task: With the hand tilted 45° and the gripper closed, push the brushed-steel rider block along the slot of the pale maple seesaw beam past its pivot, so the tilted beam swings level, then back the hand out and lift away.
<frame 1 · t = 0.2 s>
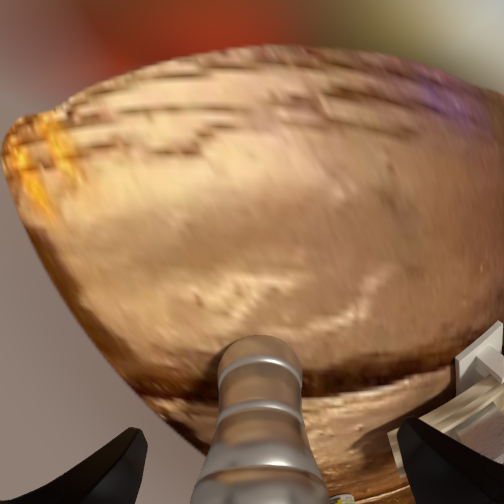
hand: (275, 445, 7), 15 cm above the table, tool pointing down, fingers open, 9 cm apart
balance beam: (493, 390, 20), point 4 cm above the table, hinge at -6.3°, touching steel rider
steel rider: (470, 419, 19), point 5 cm above the table, tilted 6°, touching balance beam
supplement bottle: (336, 498, 29), on the table
beam stand: (477, 374, 24), on the table
silver metal bottle: (259, 356, 23), on the table
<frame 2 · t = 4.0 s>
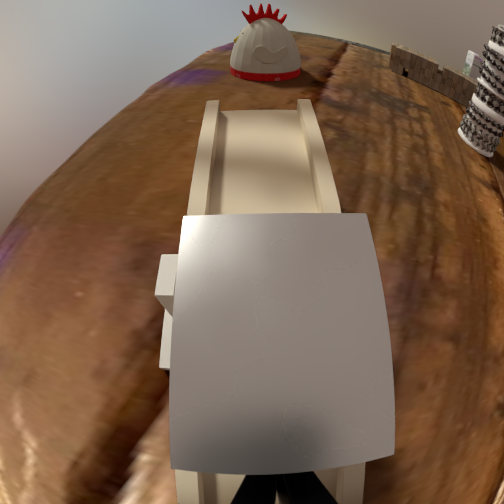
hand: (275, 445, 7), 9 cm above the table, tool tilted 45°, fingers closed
kitchen timer: (265, 71, 46), on the table
syrup box: (467, 91, 54), on the table
balance beam: (265, 294, 16), point 4 cm above the table, hinge at -6.3°, touching steel rider
steel rider: (269, 363, 12), point 6 cm above the table, tilted 6°, touching balance beam
beam stand: (264, 317, 19), on the table
white patterned cylinder: (475, 142, 34), on the table
block tower: (436, 89, 49), on the table
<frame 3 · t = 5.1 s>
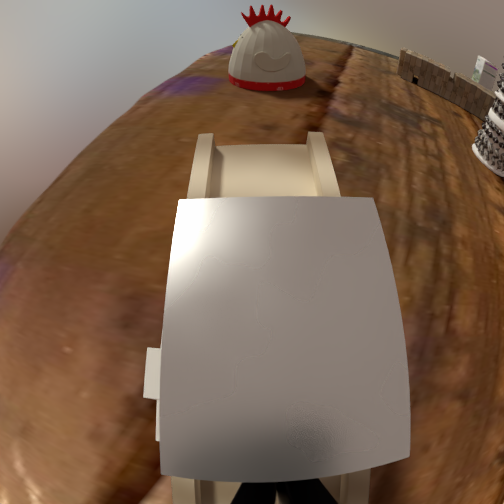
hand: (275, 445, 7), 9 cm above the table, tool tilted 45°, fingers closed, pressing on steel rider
kitchen timer: (267, 78, 43), on the table
syrup box: (476, 98, 51), on the table
balance beam: (268, 383, 13), point 4 cm above the table, hinge at -5.2°, touching steel rider
steel rider: (270, 364, 12), point 6 cm above the table, tilted 5°, touching balance beam, gripper
beam stand: (266, 389, 16), on the table
white patterned cylinder: (489, 160, 32), on the table
block tower: (447, 97, 46), on the table
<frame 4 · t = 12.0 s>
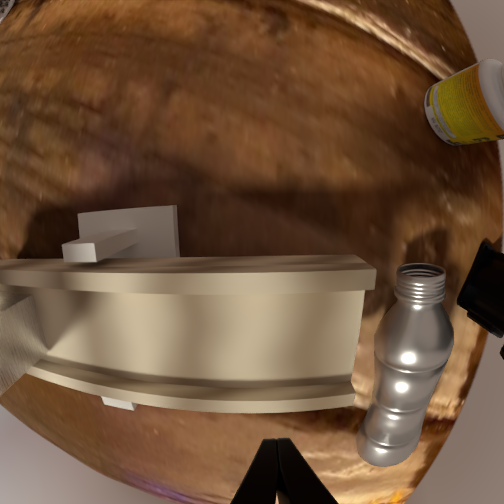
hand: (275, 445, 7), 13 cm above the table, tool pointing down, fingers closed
balance beam: (113, 320, 16), point 4 cm above the table, hinge at 0.3°, touching steel rider
steel rider: (18, 319, 14), point 6 cm above the table, touching balance beam
supplement bottle: (444, 115, 17), on the table
beam stand: (136, 298, 20), on the table
silver metal bottle: (383, 452, 20), point 3 cm above the table
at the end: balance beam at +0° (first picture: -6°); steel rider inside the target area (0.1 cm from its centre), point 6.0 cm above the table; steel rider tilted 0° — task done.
